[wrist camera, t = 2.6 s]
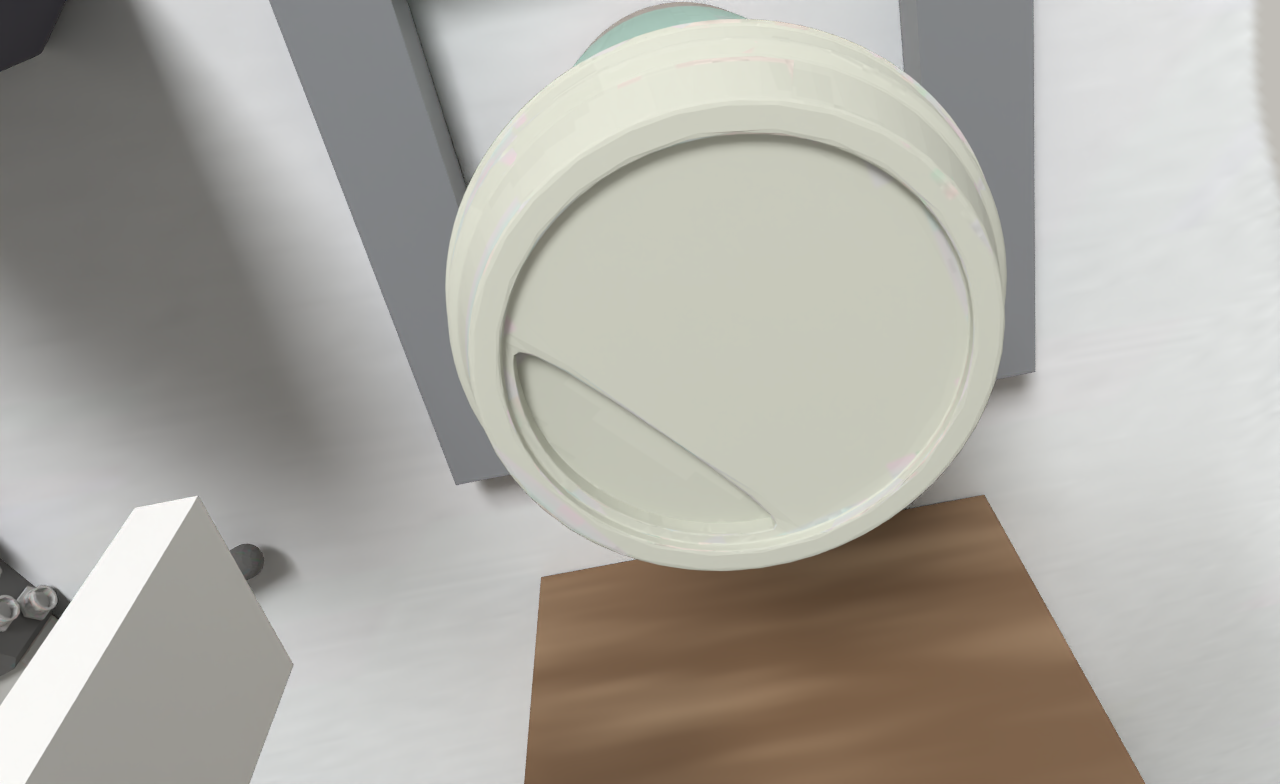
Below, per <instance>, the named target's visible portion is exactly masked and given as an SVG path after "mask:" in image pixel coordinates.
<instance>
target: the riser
mask: <svg viewBox="0 0 1280 784" xmlns="http://www.w3.org/2000/svg"><path fill="white" fill-rule="evenodd" d="M524 784H1145V782H1144V781H1143V779H1142V777H1141V775H1140V773H1139V772H1138V770H1137V768H1136V766H1135V764H1134V763H1133V761H1132V759H1131V757H1130V755H1129V754H1128V752H1127V750H1126V748H1125V746H1124V745H1123V743H1122V741H1121V739H1120V737H1119V736H1118V734H1117V732H1116V730H1115V728H1114V727H1113V725H1112V723H1111V721H1110V720H1109V718H1108V716H1107V714H1106V712H1105V711H1104V709H1103V707H1102V705H1101V703H1100V702H1099V700H1098V698H1097V696H1096V694H1095V693H1094V691H1093V689H1092V687H1091V685H1090V684H1089V682H1088V680H1087V678H1086V676H1085V675H1084V673H1083V671H1082V669H1081V667H1080V666H1079V664H1078V662H1077V660H1076V658H1075V657H1074V655H1073V653H1072V651H1071V650H1070V648H1069V646H1068V644H1067V642H1066V641H1065V639H1064V637H1063V635H1062V633H1061V632H1060V630H1059V628H1058V626H1057V624H1056V623H1055V621H1054V619H1053V617H1052V615H1051V614H1050V612H1049V610H1048V608H1047V606H1046V605H1045V603H1044V601H1043V599H1042V597H1041V596H1040V594H1039V592H1038V590H1037V589H1036V587H1035V585H1034V583H1033V581H1032V580H1031V578H1030V576H1029V574H1028V572H1027V571H1026V569H1025V567H1024V565H1023V563H1022V562H1021V560H1020V558H1019V556H1018V554H1017V553H1016V551H1015V549H1014V547H1013V545H1012V544H1011V542H1010V540H1009V538H1008V536H1007V535H1006V533H1005V531H1004V529H1003V527H1002V526H1001V524H1000V522H999V520H998V519H997V517H996V515H995V513H994V511H993V510H992V508H991V506H990V504H989V502H988V501H987V499H986V497H985V495H981V496H976V497H970V498H965V499H960V500H954V501H949V502H944V503H938V504H933V505H927V506H922V507H917V508H911V509H906V510H901V511H900V512H899V513H897V514H896V515H894V516H893V517H892V518H890V519H889V520H887V521H886V522H884V523H882V524H881V525H879V526H878V527H876V528H874V529H873V530H871V531H869V532H868V533H866V534H864V535H862V536H860V537H858V538H856V539H854V540H852V541H850V542H847V543H845V544H843V545H841V546H839V547H836V548H834V549H831V550H828V551H826V552H823V553H820V554H818V555H815V556H811V557H808V558H804V559H801V560H797V561H794V562H790V563H785V564H780V565H775V566H769V567H764V568H757V569H746V570H735V571H703V570H689V569H682V568H674V567H668V566H662V565H657V564H653V563H649V562H645V561H640V560H632V561H627V562H621V563H616V564H610V565H605V566H600V567H594V568H589V569H584V570H578V571H573V572H567V573H562V574H557V575H551V576H546V577H541V585H540V598H539V610H538V622H537V634H536V646H535V659H534V671H533V683H532V695H531V707H530V720H529V732H528V744H527V756H526V769H525V781H524Z"/></svg>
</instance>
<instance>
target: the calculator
mask: <svg viewBox="0 0 1280 784" xmlns="http://www.w3.org/2000/svg"><path fill="white" fill-rule="evenodd" d="M65 2H66V0H0V71H3V70H5V69H7V68H10V67H12V66H14V65H17V64H19V63H21V62H24V61H26V60H28V59H31V58H33V57H35V56H37V55H39V54H40V53H41V52H42V51H43V49H44V47H45V45H46V43H47V41H48V39H49V36H50V34H51V32H52V30H53V28H54V26H55V24H56V21H57V19H58V17H59V15H60V13H61V10H62V8H63V6H64V4H65Z"/></svg>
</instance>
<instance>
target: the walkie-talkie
mask: <svg viewBox="0 0 1280 784" xmlns="http://www.w3.org/2000/svg"><path fill="white" fill-rule="evenodd" d="M230 553H231V555H232V556H233V558H234V560H235V562H236V564H237V565H238V567H239V569H240V571H241V572H242V574H243V576H244V578H245V580H248V579H250V578H252V577H254V576H256V575H257V574H258V573H259V572H260V571H261V569H262V568H263V564H264V557H263V554H262V552H261V551H260V550H259V548H258V547H256V546H254V545H251V544H242V545H239V546H237V547H235V548H234V549H232V550H230ZM57 600H58V599H57V595H56V593H55V591H54V590H53V589H52V588H51V587H49V586H46V585H40V586H38V587H37V588H36V587H35V586H33V585H32V584H31V583H30V582H28V581H27V580H26V579H25V578H24V577H22V576H21V575H20V574H19V573H17V572H16V571H15V570H14V569H12V568H11V567H10V566H9V565H8V564H6V563H5V562H4V561H3V560H1V559H0V705H1V704H2V702H3V701H4V699H5V698H6V696H7V695H8V693H9V692H10V691H11V689H12V688H13V686H14V685H15V683H16V682H17V680H18V679H19V677H20V676H21V674H22V673H23V671H24V670H25V668H26V667H27V666H28V664H29V663H30V661H31V660H32V658H33V657H34V655H35V654H36V652H37V651H38V649H39V648H40V646H41V645H42V644H43V642H44V641H45V639H46V638H47V636H48V635H49V633H50V632H51V630H52V629H53V627H54V626H55V624H56V623H57V621H58V619H57V618H56V617H54V616H53V615H52V612H53V608H54V607H55V606H56V604H57Z"/></svg>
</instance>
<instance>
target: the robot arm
mask: <svg viewBox="0 0 1280 784" xmlns="http://www.w3.org/2000/svg"><path fill="white" fill-rule="evenodd" d="M292 668H293V663H292V661H291V659H290V658H289V656H288V654H287V652H286V651H285V649H284V647H283V645H282V643H281V642H280V640H279V638H278V636H277V635H276V633H275V631H274V629H273V627H272V626H271V624H270V622H269V620H268V619H267V617H266V615H265V613H264V611H263V610H262V608H261V606H260V604H259V603H258V601H257V599H256V597H255V596H254V594H253V592H252V590H251V588H250V587H249V585H248V583H247V581H246V580H245V578H244V576H243V574H242V572H241V571H240V569H239V567H238V565H237V564H236V562H235V560H234V558H233V556H232V555H231V553H230V551H229V549H228V548H227V546H226V544H225V542H224V540H223V539H222V537H221V535H220V533H219V532H218V530H217V528H216V526H215V525H214V523H213V521H212V519H211V517H210V516H209V514H208V512H207V510H206V509H205V507H204V505H203V503H202V501H201V500H200V498H199V496H193V497H188V498H183V499H178V500H173V501H167V502H162V503H157V504H152V505H147V506H141V507H136V508H134V510H133V511H132V513H131V514H130V516H129V517H128V519H127V520H126V522H125V523H124V525H123V526H122V527H121V529H120V530H119V532H118V533H117V535H116V536H115V538H114V539H113V541H112V542H111V544H110V545H109V547H108V548H107V549H106V551H105V552H104V554H103V555H102V557H101V558H100V560H99V561H98V563H97V564H96V566H95V567H94V569H93V570H92V572H91V573H90V574H89V576H88V577H87V579H86V580H85V582H84V583H83V585H82V586H81V588H80V589H79V591H78V592H77V594H76V595H75V596H74V598H73V599H72V601H71V602H70V604H69V605H68V607H67V608H66V610H65V611H64V613H63V614H62V616H61V617H60V619H59V620H58V621H57V623H56V624H55V626H54V627H53V629H52V630H51V632H50V633H49V635H48V636H47V638H46V639H45V641H44V642H43V644H42V645H41V646H40V648H39V649H38V651H37V652H36V654H35V655H34V657H33V658H32V660H31V661H30V663H29V664H28V666H27V667H26V668H25V670H24V671H23V673H22V674H21V676H20V677H19V679H18V680H17V682H16V683H15V685H14V686H13V688H12V689H11V691H10V692H9V693H8V695H7V696H6V698H5V699H4V701H3V702H2V704H1V705H0V784H249V783H250V780H251V778H252V775H253V772H254V770H255V767H256V764H257V761H258V759H259V756H260V753H261V751H262V748H263V745H264V743H265V740H266V737H267V735H268V732H269V729H270V727H271V724H272V721H273V719H274V716H275V713H276V711H277V708H278V705H279V703H280V700H281V697H282V694H283V692H284V689H285V686H286V684H287V681H288V678H289V676H290V673H291V670H292Z"/></svg>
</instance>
